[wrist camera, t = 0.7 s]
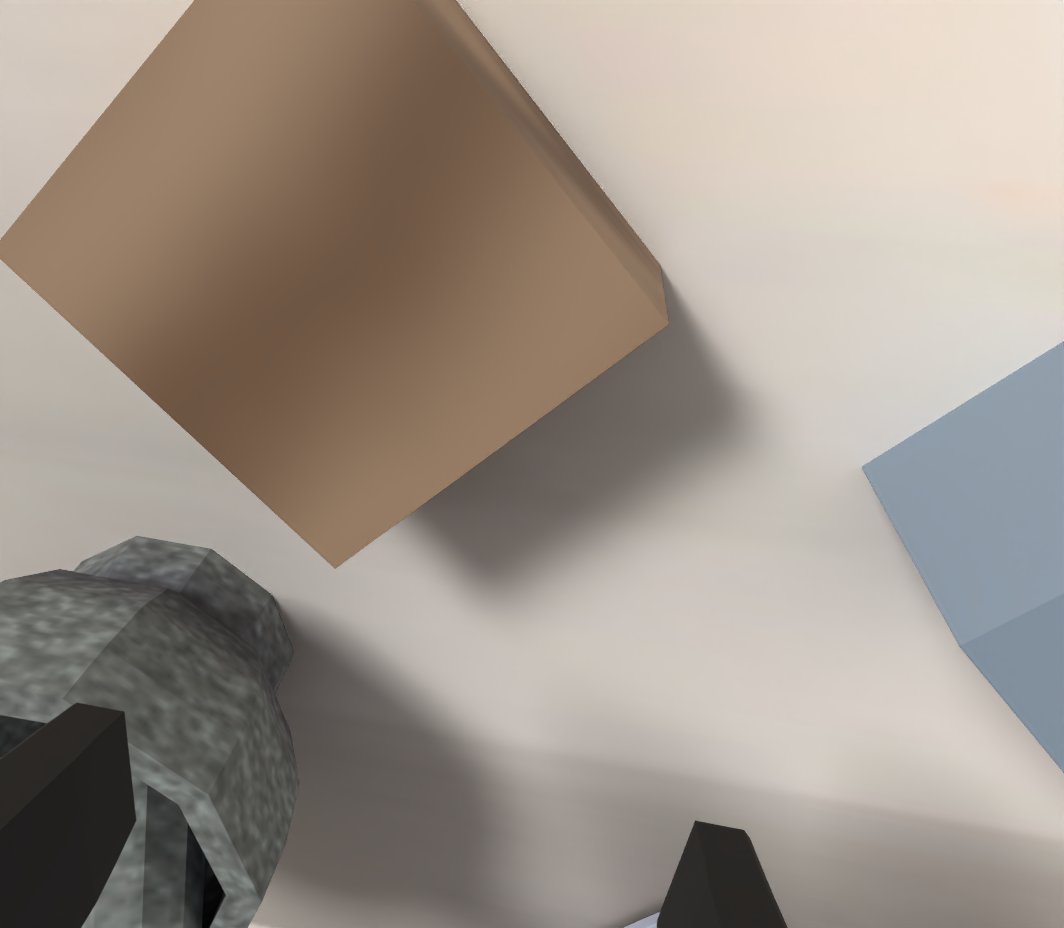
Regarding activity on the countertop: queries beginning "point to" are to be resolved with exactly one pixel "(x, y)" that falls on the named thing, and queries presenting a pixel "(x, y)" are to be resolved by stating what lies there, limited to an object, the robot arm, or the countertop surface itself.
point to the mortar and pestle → (166, 719)
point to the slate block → (994, 533)
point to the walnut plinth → (338, 253)
